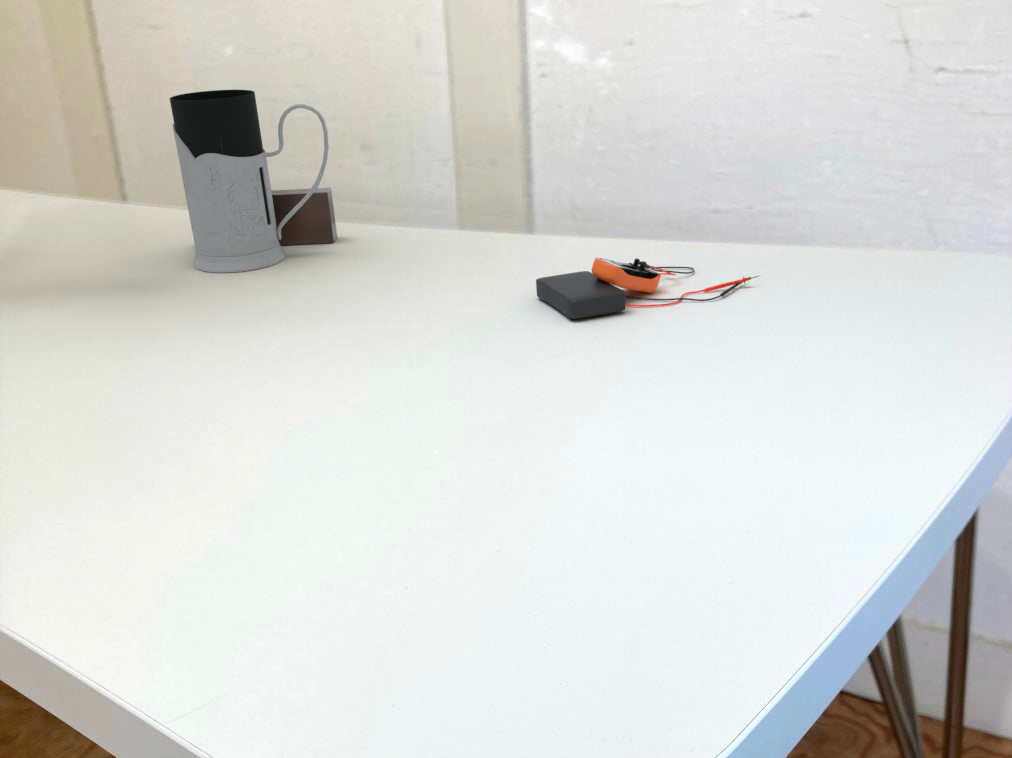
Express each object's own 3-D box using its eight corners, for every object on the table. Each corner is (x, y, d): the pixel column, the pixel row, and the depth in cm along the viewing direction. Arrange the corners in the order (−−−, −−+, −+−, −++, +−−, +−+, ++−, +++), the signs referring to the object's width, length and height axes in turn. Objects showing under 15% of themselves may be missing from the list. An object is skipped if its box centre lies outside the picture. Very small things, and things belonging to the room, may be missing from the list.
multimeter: (710, 258, 95) (712, 219, 94) (777, 293, 85) (780, 250, 83) (518, 283, 91) (517, 243, 89) (564, 323, 81) (563, 279, 79)
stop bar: (196, 249, 107) (186, 199, 105) (202, 243, 110) (193, 194, 107) (333, 243, 107) (327, 192, 105) (337, 237, 109) (331, 187, 107)
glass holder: (201, 252, 106) (171, 92, 99) (343, 242, 107) (324, 83, 100) (186, 275, 98) (153, 103, 91) (340, 264, 99) (319, 93, 92)
